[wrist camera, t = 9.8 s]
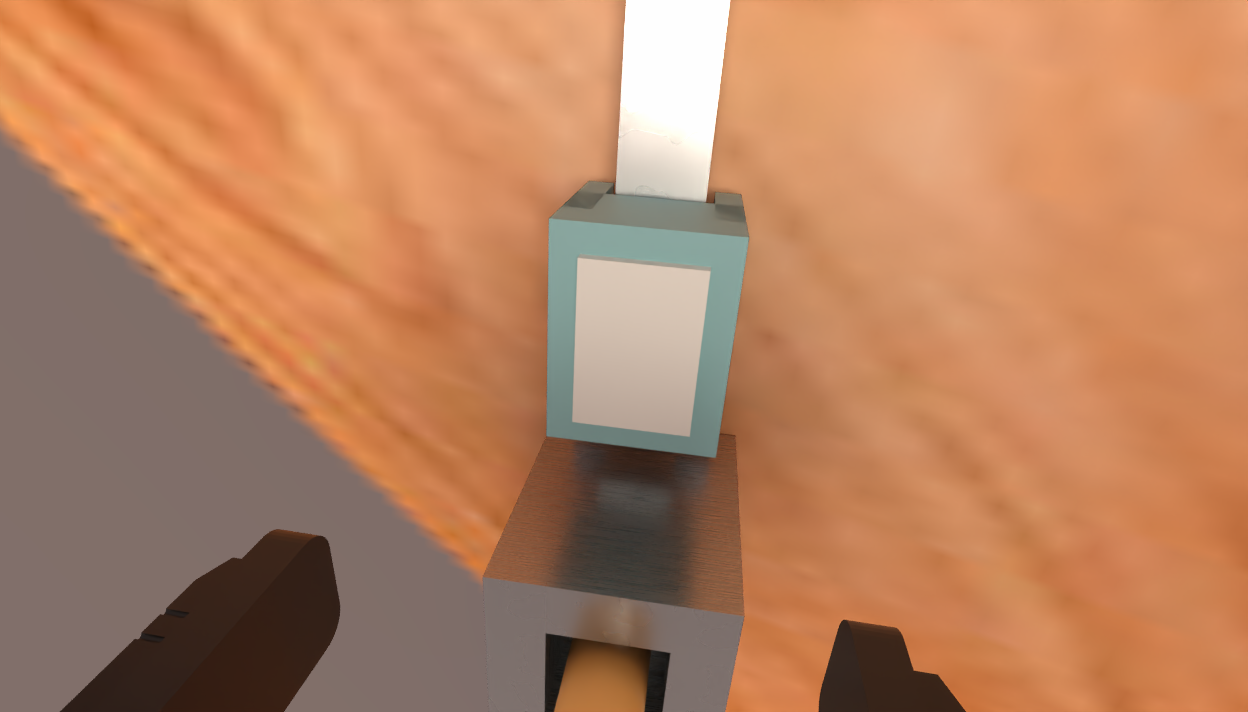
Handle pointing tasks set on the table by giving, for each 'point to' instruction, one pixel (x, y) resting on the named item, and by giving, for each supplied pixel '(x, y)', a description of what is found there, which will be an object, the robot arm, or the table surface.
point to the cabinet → (618, 573)
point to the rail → (669, 97)
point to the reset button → (604, 678)
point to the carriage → (642, 318)
